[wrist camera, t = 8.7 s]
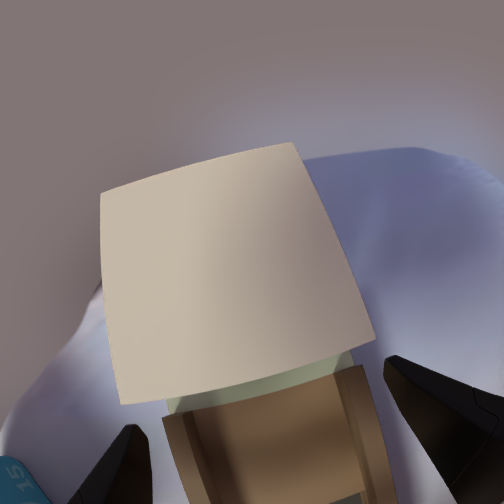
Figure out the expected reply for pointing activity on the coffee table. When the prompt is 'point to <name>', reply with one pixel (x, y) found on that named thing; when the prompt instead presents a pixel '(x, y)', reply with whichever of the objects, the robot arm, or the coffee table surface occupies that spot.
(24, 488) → the data package
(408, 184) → the coffee table surface
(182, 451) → the walnut channel
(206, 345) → the cream block
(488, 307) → the coffee table surface
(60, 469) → the coffee table surface
